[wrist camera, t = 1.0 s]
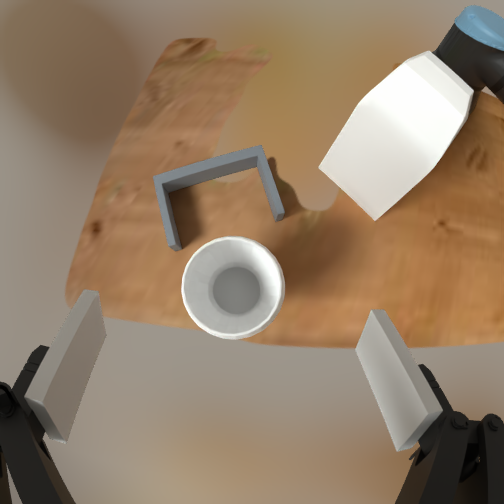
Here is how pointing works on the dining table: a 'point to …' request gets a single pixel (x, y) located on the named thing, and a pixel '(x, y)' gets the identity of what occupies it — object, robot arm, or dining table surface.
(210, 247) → the cup
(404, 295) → the dining table surface
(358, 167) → the milk
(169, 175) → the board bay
